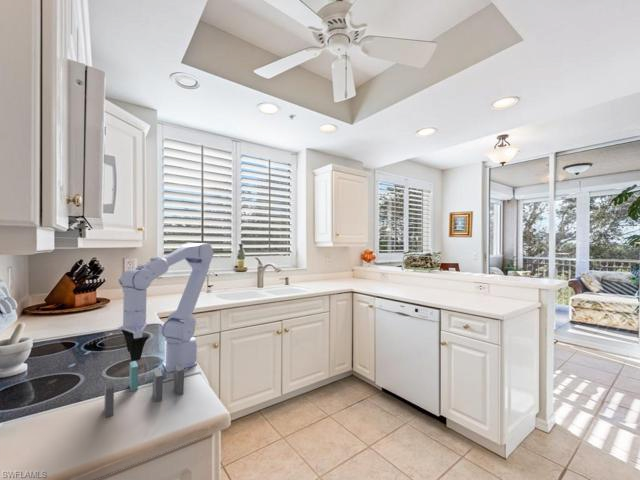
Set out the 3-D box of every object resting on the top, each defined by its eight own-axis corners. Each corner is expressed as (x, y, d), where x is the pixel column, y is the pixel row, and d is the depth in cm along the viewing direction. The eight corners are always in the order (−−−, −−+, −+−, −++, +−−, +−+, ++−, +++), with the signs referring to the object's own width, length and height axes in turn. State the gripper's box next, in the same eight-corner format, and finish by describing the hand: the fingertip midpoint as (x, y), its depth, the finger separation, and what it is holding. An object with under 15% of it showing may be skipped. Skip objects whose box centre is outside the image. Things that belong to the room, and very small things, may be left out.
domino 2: (135, 383, 87) (135, 360, 87) (137, 389, 84) (138, 366, 83) (129, 385, 86) (129, 362, 86) (131, 391, 83) (131, 367, 82)
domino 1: (111, 406, 75) (112, 380, 75) (113, 415, 72) (113, 387, 72) (104, 409, 74) (104, 382, 74) (105, 417, 71) (106, 389, 71)
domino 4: (179, 387, 86) (180, 364, 86) (183, 393, 82) (184, 369, 82) (173, 388, 85) (174, 365, 85) (177, 395, 81) (178, 371, 81)
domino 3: (158, 393, 82) (159, 369, 82) (162, 400, 79) (162, 375, 79) (152, 394, 81) (153, 370, 81) (155, 402, 78) (156, 376, 78)
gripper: (116, 306, 87) (115, 350, 88) (121, 317, 76) (120, 368, 76) (142, 303, 92) (141, 345, 92) (151, 313, 81) (150, 361, 81)
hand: (133, 355), depth 85 cm, fingers open, 7 cm apart
